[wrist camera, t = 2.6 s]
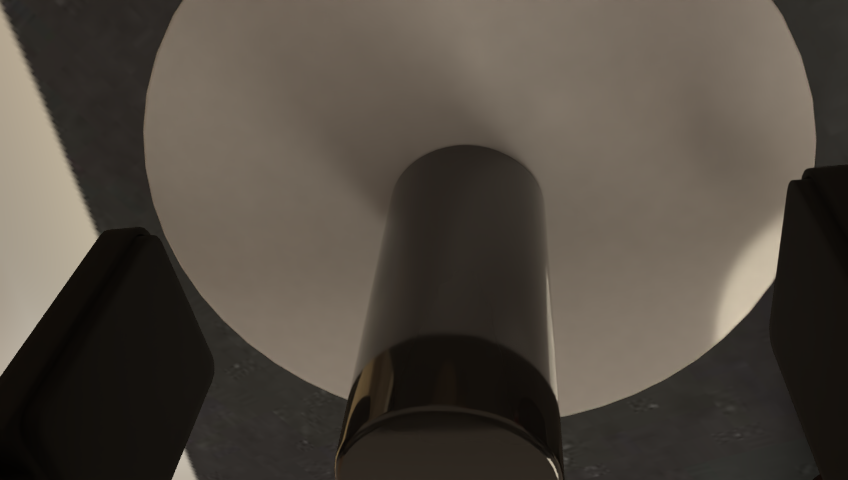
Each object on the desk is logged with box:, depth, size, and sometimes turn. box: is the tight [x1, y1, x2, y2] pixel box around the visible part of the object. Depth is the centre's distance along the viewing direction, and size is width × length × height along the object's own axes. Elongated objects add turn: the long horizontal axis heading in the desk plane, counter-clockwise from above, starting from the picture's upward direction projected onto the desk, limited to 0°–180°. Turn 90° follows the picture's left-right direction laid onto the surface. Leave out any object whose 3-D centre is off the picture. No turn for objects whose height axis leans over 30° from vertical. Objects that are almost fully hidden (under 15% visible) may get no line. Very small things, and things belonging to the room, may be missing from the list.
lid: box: [143, 0, 817, 480], centre depth 11 cm, size 11×11×7 cm
